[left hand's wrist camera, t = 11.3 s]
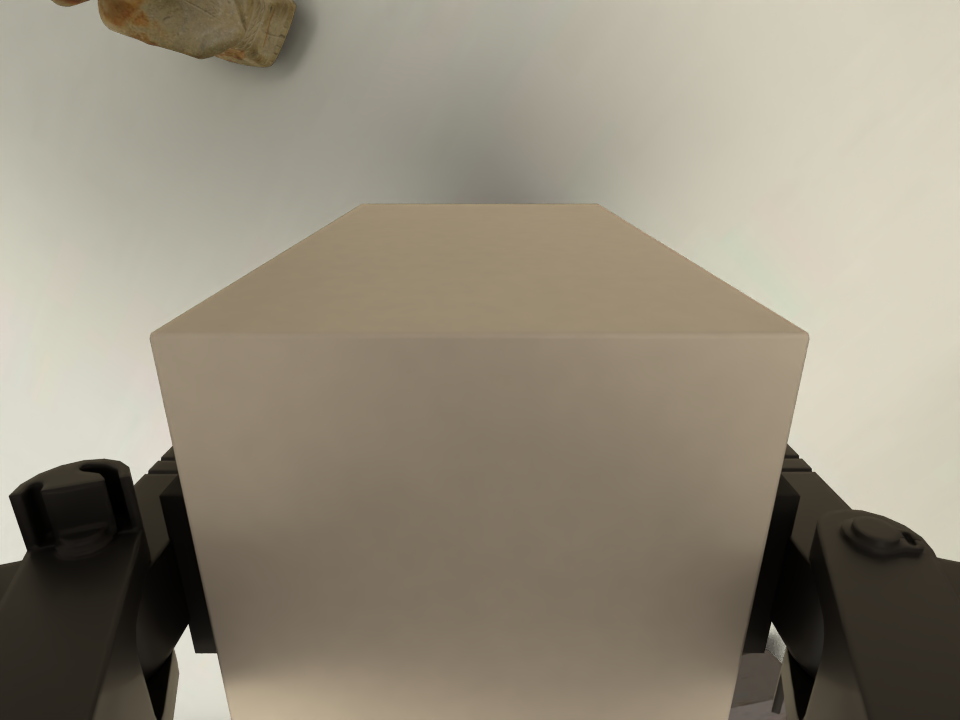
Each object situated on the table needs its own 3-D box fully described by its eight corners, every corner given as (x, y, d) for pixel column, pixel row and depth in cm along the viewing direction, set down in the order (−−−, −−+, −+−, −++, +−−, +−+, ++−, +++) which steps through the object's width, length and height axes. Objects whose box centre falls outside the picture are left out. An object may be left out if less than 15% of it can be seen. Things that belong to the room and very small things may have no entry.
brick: (581, 445, 20) (706, 830, 9) (378, 445, 20) (252, 829, 9) (599, 203, 17) (812, 333, 6) (360, 203, 17) (145, 332, 6)
